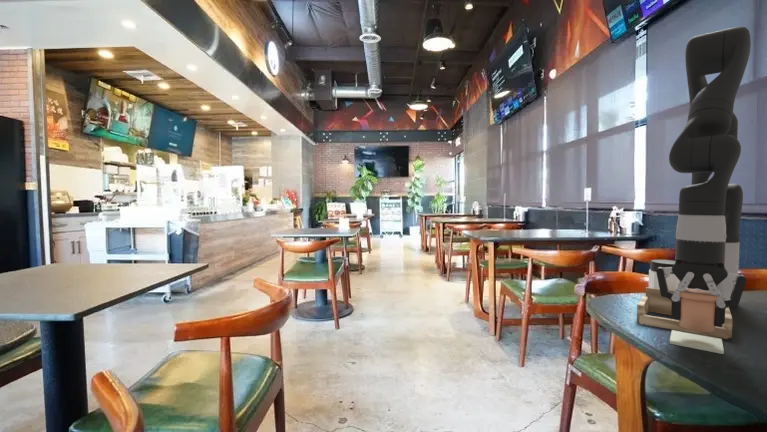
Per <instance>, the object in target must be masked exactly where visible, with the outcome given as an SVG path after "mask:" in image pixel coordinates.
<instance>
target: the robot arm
mask: <svg viewBox="0 0 767 432" xmlns="http://www.w3.org/2000/svg"><path fill="white" fill-rule="evenodd" d="M751 39H752V38H751V34H750V30H749V29H748V27H747V26H746V27H745V26H735V27H730V28H726V29H720V30H715V31H711V32H707V33H703V34H698V35H695V36H692V37H691V38H689V40H688V41H687V43H686V47H685V53H684V56H685V60H684V61H685V69H686V71H685V72H686V78H687V80H686V81H687V87H688V95H689V96H688V97H689V109H688V110H689V111H688V117H687V121H686V124H685V125H684V128H683V129H682V131H681V133H680V134H679V135H678V136H677V138H676V139H675V141H674V143H673V144H672V146H671V149H670V151H669V155H668V163H669V165H670V166H671V168H672V169H673V170H674V171H676V172H677V173H680V174H691V184H689V185H686V186H683V187H682V188H681V189H680V190H679V197H678V218H677V222H676V231H675V257H674V259H675V260H674V261H675V264H674V265H673V266H672V267H666V268H663V267H658V268H657V270H656V273H657V278H658V283H659V288H660V293H661V296H662V297H666V298H668V299H670V300H671V302H672V307H671V315H670V316H671V317H672V318H673V317H674V320H679V321H680V301H679V299H680V296H679V293H680V292H684V291H685V290H686V288H689V289H695V290H703V291H708V292H711V294H712V296H717V301H716V304H717V306H716V311H715V326H716V327H721V326H720V325H721V324H724V323H725V309H726V308H727V307H729V308H731V307H735V308H736V307H738V306H739V304H740V302H741V298H742V295H743V293H744V290H745V285H746V282H747V277H746V276H745V275H744V274H739V265H740V264H739V262H740V261H739V260H740V242H741V241H740V240H741V235H740V233H741V232H740V231H741V218H742V217H741V216H742V209H743V202H744V201H743V199H744V197H743V196H744V192H743V189H742V186H741V185H740V184H737V183H730V180H731V178H732V175H733V173H734V170H735V168H736V166H737V164H738V161H739V160H740V156H741V153H742V147H741V143H740V141H739V140H738V134H739V133H738V130H739V126H738V125H739V121H738V118H737V116H736V114H735V112H734V107H735V101H736V97H737V93H738V90H739V89H740V86H741V83H742V80H743V77H744V75H745V72H746V68H747V66H748V62H749V58H750V53H751V41H752V40H751ZM713 74H715V75H716V74H719V75H717V76H716V77H715V78H714V79H713V80H711V81H710V82H709V83H708V81H707V77H706V76H708V75H713ZM712 174H713V175H712ZM711 175H712V177H711ZM671 272H673V273H674V274H675V276H676V277H677V278H678V279H679V281H680V283H679V285H678V286H677V288H676V290H675V291H674V293H672V292H670V291H668V287H667V282H666V278H668V277H669V275H670V273H671ZM722 297H725V298H726V299H723V298H722Z"/></svg>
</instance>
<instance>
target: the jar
mask: <svg viewBox="0 0 767 432" xmlns="http://www.w3.org/2000/svg"><path fill="white" fill-rule="evenodd" d="M674 264H675V260H669V259H651V260H650V268H649V269H648V287H649V288H657V289H660V288H659V283H658V278H657V273H656V270H657V268H658V267H663V268H666V267H672V266H673V265H674ZM666 282H667V287H668V290H673V291H675V290H676V288H677V286H678V285H679V283H680V281H679V279H678V278H677V277H676V276H675V274H674V273H673V272H671V273H670V275H669V277H668V278H666ZM686 289H689V288H686Z"/></svg>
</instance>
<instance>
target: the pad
mask: <svg viewBox="0 0 767 432" xmlns="http://www.w3.org/2000/svg"><path fill="white" fill-rule="evenodd" d="M670 344H671V345H675V346H681V347H686V348H690V349H695V350H700V351H704V352H706V351H707V352H710V353H716V354H720V355H724V354H725V350H724V349H725V348H724V345H723V338H717V337H712V336H706V335H701V334H695V333H689V332H684V331H678V330H672V329H671V333H670V337H669V345H670Z"/></svg>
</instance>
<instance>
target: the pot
mask: <svg viewBox="0 0 767 432" xmlns="http://www.w3.org/2000/svg"><path fill="white" fill-rule="evenodd" d="M679 296H680V321H679V325H680V326H681V327H684V328H686V329H690V330H694V331H700V332H714V331H715V311H716V301H717V296H712V294H711V292H708V291H703V290H695V289H686V290H685V291H684V292H680V293H679Z"/></svg>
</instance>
